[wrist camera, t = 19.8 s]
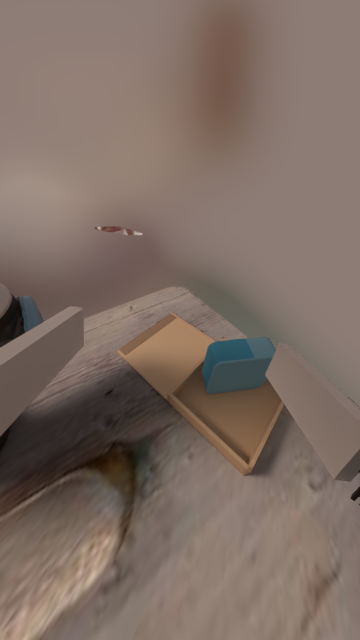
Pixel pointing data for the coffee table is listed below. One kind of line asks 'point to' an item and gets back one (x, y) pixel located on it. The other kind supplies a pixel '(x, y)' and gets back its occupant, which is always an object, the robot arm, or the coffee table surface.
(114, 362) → the coffee table surface
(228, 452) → the mailer box
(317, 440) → the robot arm
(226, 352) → the data package
